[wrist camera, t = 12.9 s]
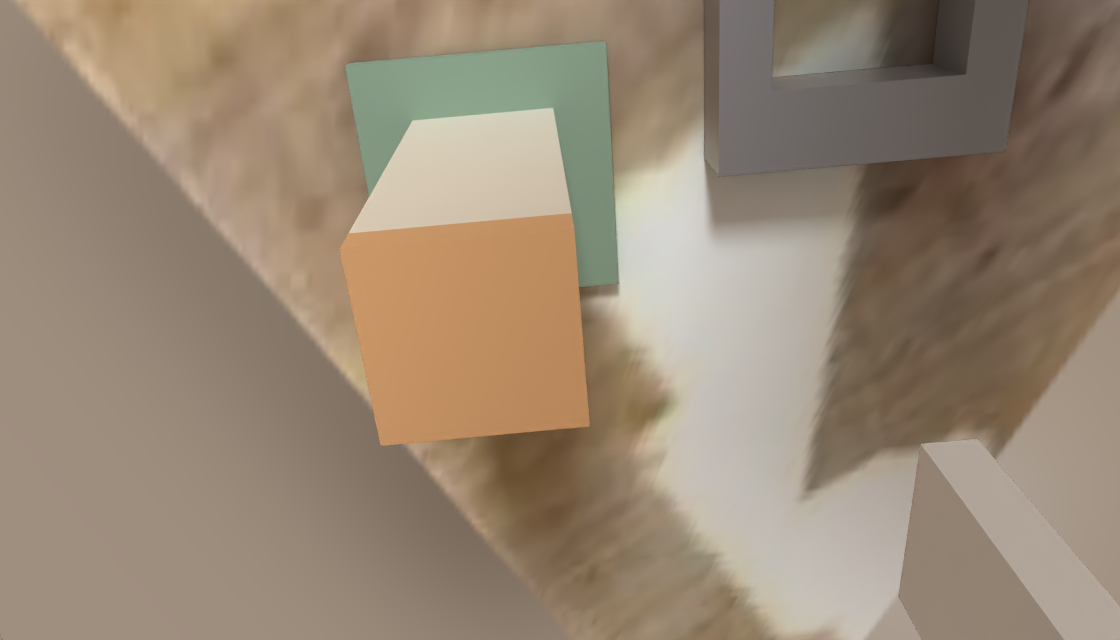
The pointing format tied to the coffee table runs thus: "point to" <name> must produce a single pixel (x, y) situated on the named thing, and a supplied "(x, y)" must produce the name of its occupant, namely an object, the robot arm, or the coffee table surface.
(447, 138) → the plug
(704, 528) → the coffee table surface
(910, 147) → the grey square frame
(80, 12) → the coffee table surface
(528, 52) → the mat
